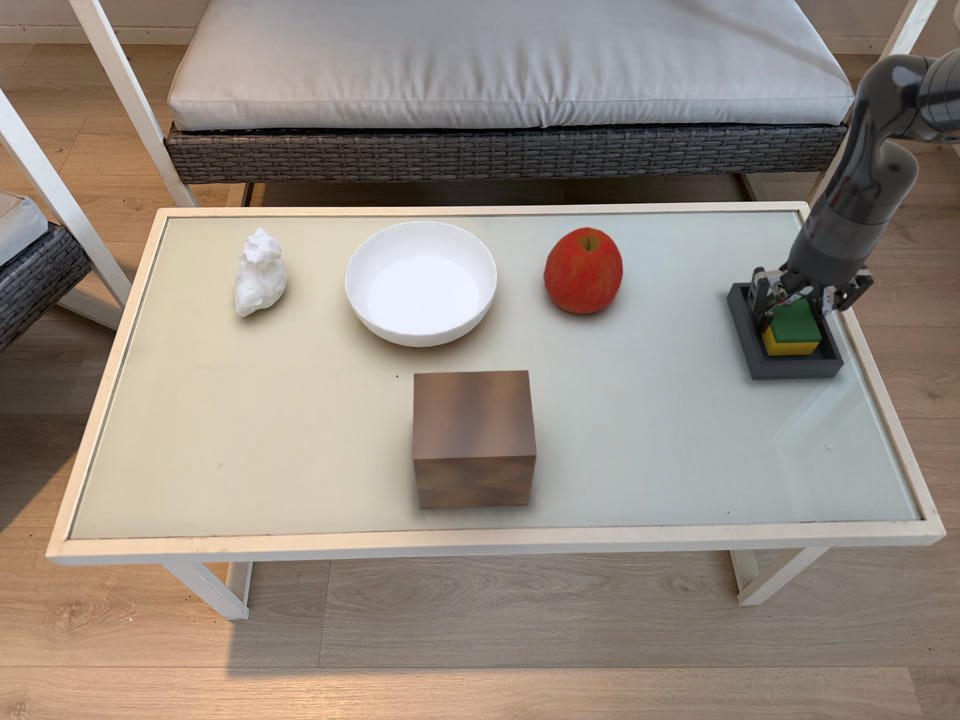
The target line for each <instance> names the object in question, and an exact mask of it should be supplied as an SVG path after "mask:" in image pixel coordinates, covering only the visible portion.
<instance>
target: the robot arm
mask: <svg viewBox="0 0 960 720" xmlns="http://www.w3.org/2000/svg"><path fill="white" fill-rule="evenodd" d="M888 139H889V140H888ZM890 139H892V140H899V141H900V140H901V141H907V142H916V143H922V144H923V143H924V144H933V145H945V146H947V145H948V146H949V145H951V146H953V145H955V146H956V145H960V46H959V47H957V48H954V49H952V50H951V51H949V52H947V53H945V54H943V55H942V56H941V57H934V56H933V57H932V56H923V55H922V56H921V55H917V54H916V55H914V54H905V53H893V54H890V55H886V56H885V57H883V58H880V59H879V60H877V61H876V62H875V63H874V64H873V65H871V67H869V68H868V70H867V71H866V72H865V73H864V74H863V76H862V77H861V79H860V81H859V84H858V86H857V90H856V93H855V97H854V103H853V109H852V118H851V123H850V128H849V133H848V137H847V141H846V144H845V147H844V151H843V154H842V157H841V159H840V161H839V163H838V165H837V167H836V169H835V171H834V172H833V174H832V176H831V178H830V180H829V181H828V183H827V186H826V187H825V189H824V190H823V192H822V193H821V195H820V196H819V197H818V198H817V199H816V201H815V203H814V204H813V206H812V208H811V210H810V212H809V214H808V215H807V217H806V219H805V221H804V223H803V225H802V226H801V228H800V230H799V232H798V233H797V236H796V238H794V241H793V243H792V245H791V247H790V249H789V254H788V256H787V257H788V258H787V260H786V261H785V262H784V263H782V264H781V265H780V266H778V267H779V268H778V269H775V270H768V271H766V270H765V267H764V266H758V267H756V268H754V269H753V272H752V276H751V281H750V283H751V285H750V289H749V293H748V299H749V302H750V305H751V308H752V311H753V313H754V314H755V315H754V317H753V322H754V325H755V328H756V329H757V330H758V333H765V332H766V330H767V328H768V327H769V325H770V323H771V322H772V320H773V318H774V317H775V316H774V315H775V314H776V313H777V312H778V311H780V310H781V309H782V308H783V307H785V308H789V307H790V306H791V305H792V304H794V303H795V302H796V301H797V300H799V299H804V298H810V299H816V302H812V303H811V304H810V306H809V307H810V310H811V312H812V315H813V317H814V320H815V322H816V325H817V327H818V326H819V325H820V323H821V322H822V320H823V319H824V317H825V318H826V316H829V315H831V314H832V313H833V311H835V310H836V311H838V312H839V313H843V312H846V311H848V310H849V309H850V308H851V307H852V306H853V305H854V304H855V303H856V302H857V301H858V300H859V299H860V298H861V296H863V295H864V294H865V292H867V290H868V289H870V288H871V286H873V285H874V284H875V280H874V278H873V276H872V273H871V271H870V270H869V267H868V266H867V264H865V262H866V261H867V259H868V258H869V256H870V255H871V254H872V252H873V251H874V249H875V247H876V246H877V245H878V243H879V241H880V240H881V238H882V237H883V235H884V234H885V232H886V230H887V228H888V226H889V224H890V222H891V219H892V218H893V216H894V215H895V213H896V212H897V211H898V210H899V208H900V206H901V204H902V203H903V202H904V200H905V198H906V197H907V196H908V194H909V193H910V191H911V189H912V188H913V186H914V184H915V183H916V181H917V179H918V176H919V171H920V167H919V162H918V160H917V158H916V156H915V155H914V153H912V152H910V151H909V150H908V149H907V148H905V147H904V146H902V145H900V144H899V143H896V142H893V141H891V140H890ZM768 291H769V292H768ZM785 291H786V292H785ZM786 293H787V294H788V296H787V295H786ZM845 295H846V297H845ZM775 298H776V301H775V303H772V300H774V299H775Z"/></svg>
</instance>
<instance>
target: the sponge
mask: <svg viewBox="0 0 960 720" xmlns="http://www.w3.org/2000/svg"><path fill="white" fill-rule="evenodd" d="M768 292H769V291H768ZM785 292H786V291H785ZM786 295H787V296H788V294H787V293H786ZM775 301H776V298H775V299H774V300H772V303H775ZM754 315H755V314H754ZM774 316H775V317H774V318H773V320H772V322H771V323H770V325H769V327H768V328H767V330H766V332H765V333H761V336H762V339H763V342H764V345H765V347H766V350H767V353H768V356H777V355H810V354H811V353H812V352H813V351H814V349H815V348H816V346H817V345H818V343H819V342H820V340H821V339H822V337H821V334H820V332H819V330H818V327H817V325H816V322H815V320H814V317H813V315H812V312H811V310H810V307H809V305H808V302H807V300H806V298H804V299H799V300H797V301H796V302H795V303H794V304H792V305H791V306H790V307H789V308H785V307H783V308H782V309H781V310H780V311H778V312H777V313H776V314H775V315H774Z"/></svg>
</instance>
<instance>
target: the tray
mask: <svg viewBox="0 0 960 720" xmlns="http://www.w3.org/2000/svg"><path fill="white" fill-rule="evenodd" d="M750 285H751V282H733V283H732V285H731V286H730V289H729V291H728V294H727V295H726V301H727V305H728V307H729V310H730V313H731V317H732V320H733V323H734V326H735V329H736V333H737V335H738V339H739V342H740V345H741V348H742V351H743V355H744V357H745V361H746V364H747V367H748V370H749V373H750V377H751V379H752V380H754V381H755V380H758V381H759V380H790V379H791V380H794V379H826V378H827V379H829V378H830V379H831V378H834V377H836V375H837V374H838V373H839V371H840V370H841V369H842V367H843V366H844V365H845V362H844V359H843V357H842V354H841V352H840V349H839V347H838V345H837V342H836V340H835V338H834V335H833V333H832V330H831V328H830V325H829V324H828V323H829V322H828V321H827V318H826V316H825V317H824V319H823V320H822V322H821V323H820V325H819V326H818V330H819V332H820V334H821V337H822V339H821V340H820V342H819V343H818V345H817V346H816V348H815V349H814V351H813V352H812V353H811V354H810V355H777V356H768V353H767V350H766V347H765V345H764V342H763V339H762V336H761V333H758V330H757V329H756V328H755V325H754V322H753V317H754V313H753V311H752V308H751V305H750V302H749V299H748V293H749V289H750ZM806 300H807V302H808V305H809V306H810V304H811V303H812V302H816V299H810V298H806Z"/></svg>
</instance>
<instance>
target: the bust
mask: <svg viewBox="0 0 960 720" xmlns="http://www.w3.org/2000/svg"><path fill="white" fill-rule="evenodd" d="M282 255H283V254H282V247H281V245H280V242H279V241H278V240H277V239H276V238H275V237H274V236H272V234H271V233H270V232H269V231H268V230H265V229H264V228H263V227H257V228H256V231H255V232H254V234H253V235H249V236H247V237H246V238H244V243H243V250H242V252H241V253H239V254H238V259H239V260H242V261H241V262H240V264H239V265H238V270H237V273H236V275H235V291H234V309H235V311H236V314H237V315H238V316H239V317H241V318H246V317H247V316H249V315H251V314H253V313H255V312H256V311H257V310H260V309H268V308H270V307H272V306H274V304H275V303H276V302H277V301H278V300H280V298H281V297H282V296H283V294H284V292H285V289H286V286H287V282H288V273H287V268H286V267H285V263H284V261H283V259H282Z"/></svg>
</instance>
